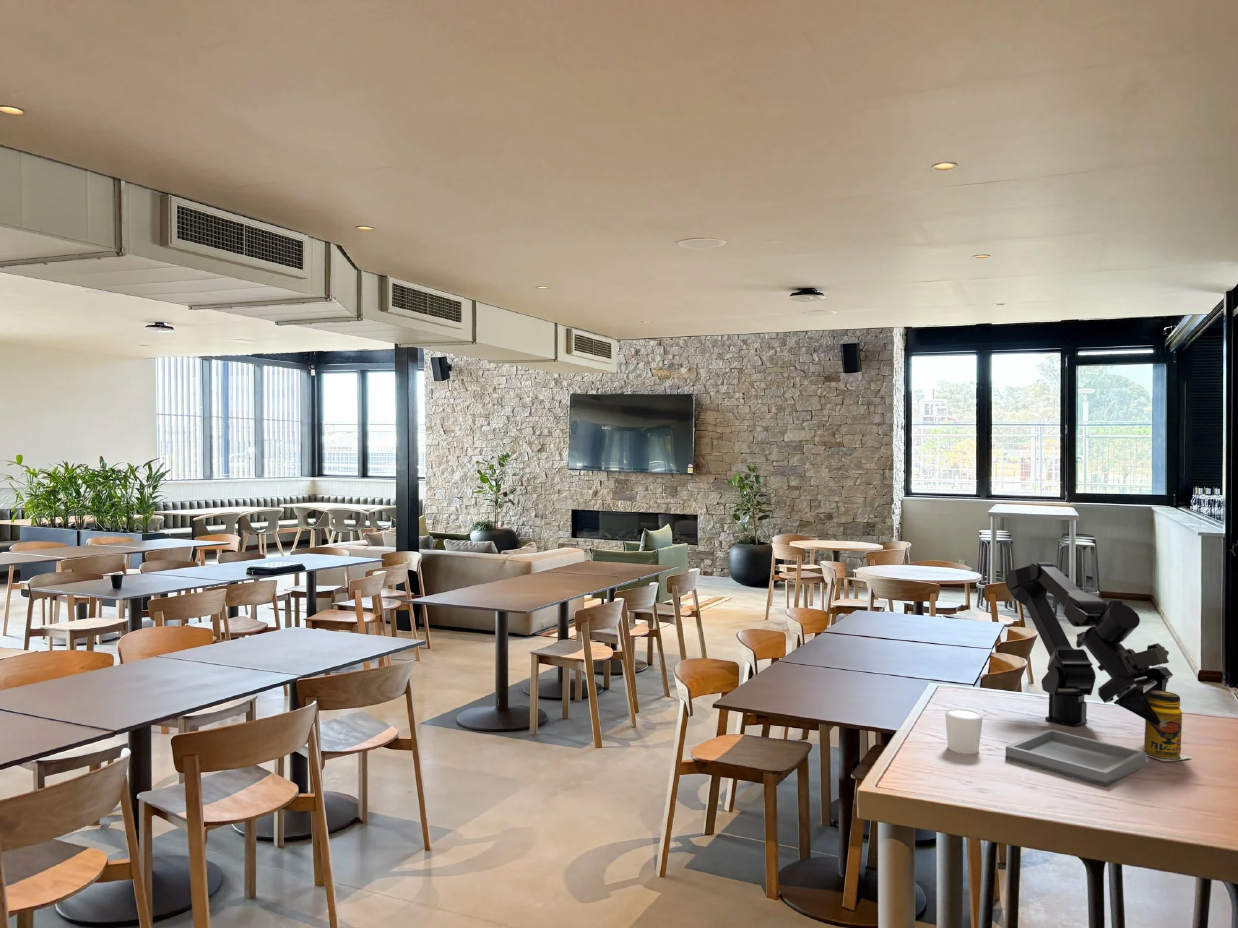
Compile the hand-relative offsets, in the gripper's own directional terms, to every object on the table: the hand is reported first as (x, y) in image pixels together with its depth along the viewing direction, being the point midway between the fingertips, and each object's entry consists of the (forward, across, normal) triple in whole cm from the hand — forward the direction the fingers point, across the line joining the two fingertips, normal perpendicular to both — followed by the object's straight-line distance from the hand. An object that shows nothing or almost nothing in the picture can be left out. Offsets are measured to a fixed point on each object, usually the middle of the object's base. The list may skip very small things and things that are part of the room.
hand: (1166, 721), depth 174 cm
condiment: (+4, 0, +6) cm, 7 cm away
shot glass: (-12, -30, +22) cm, 39 cm away
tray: (0, -18, +10) cm, 21 cm away
